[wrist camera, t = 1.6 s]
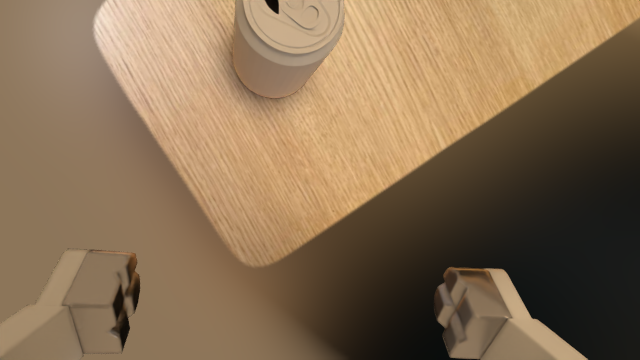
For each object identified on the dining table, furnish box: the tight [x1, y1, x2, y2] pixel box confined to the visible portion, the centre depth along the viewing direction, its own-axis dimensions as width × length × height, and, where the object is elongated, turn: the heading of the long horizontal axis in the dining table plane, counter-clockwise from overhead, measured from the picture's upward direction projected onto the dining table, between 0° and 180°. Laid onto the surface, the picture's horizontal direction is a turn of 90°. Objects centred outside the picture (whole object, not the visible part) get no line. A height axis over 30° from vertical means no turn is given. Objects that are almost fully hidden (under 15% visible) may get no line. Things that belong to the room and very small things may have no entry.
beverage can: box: [233, 0, 345, 98], centre depth 29 cm, size 6×6×12 cm
